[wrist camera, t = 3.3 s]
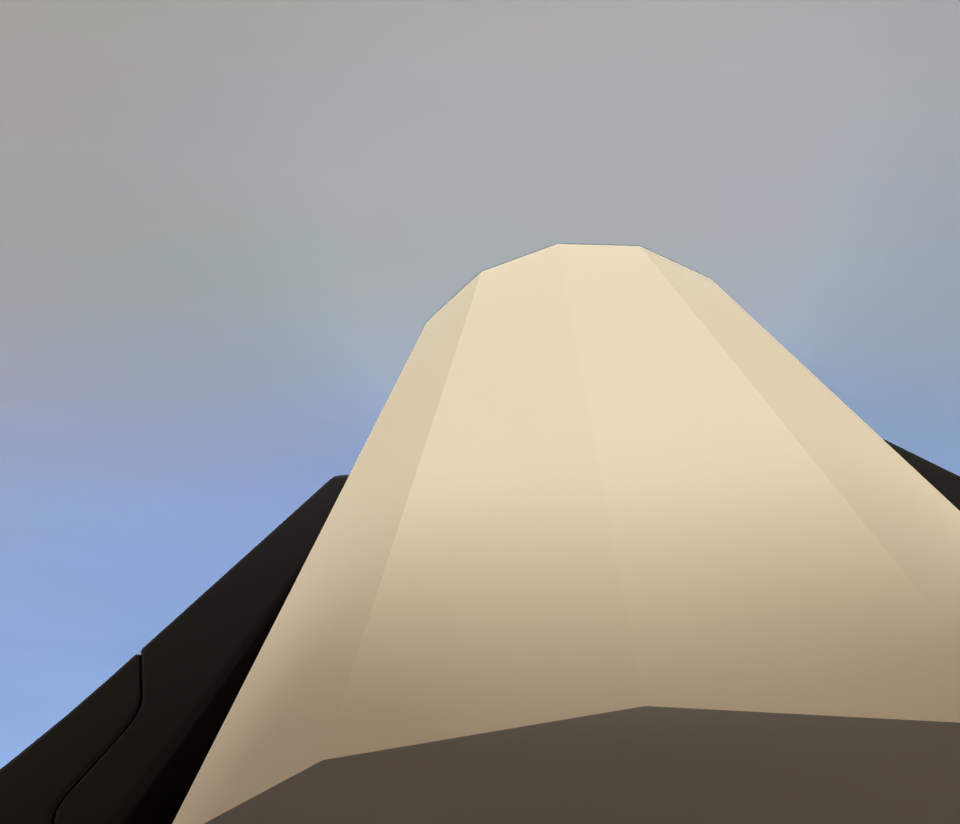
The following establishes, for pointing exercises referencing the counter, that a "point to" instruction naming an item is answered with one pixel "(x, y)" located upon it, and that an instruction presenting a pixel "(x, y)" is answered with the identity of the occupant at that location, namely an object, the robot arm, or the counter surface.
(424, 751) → the cream cup
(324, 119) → the counter surface
